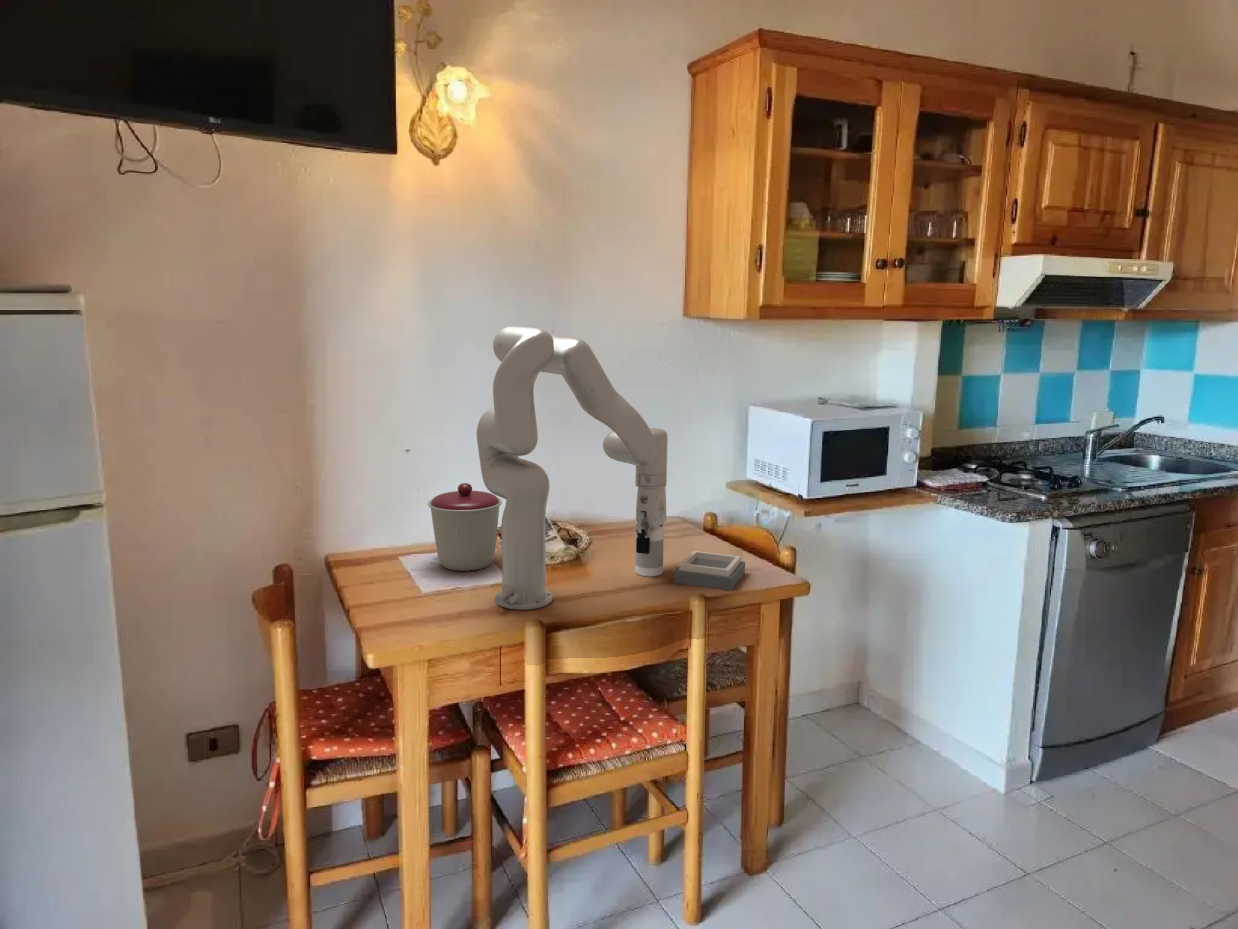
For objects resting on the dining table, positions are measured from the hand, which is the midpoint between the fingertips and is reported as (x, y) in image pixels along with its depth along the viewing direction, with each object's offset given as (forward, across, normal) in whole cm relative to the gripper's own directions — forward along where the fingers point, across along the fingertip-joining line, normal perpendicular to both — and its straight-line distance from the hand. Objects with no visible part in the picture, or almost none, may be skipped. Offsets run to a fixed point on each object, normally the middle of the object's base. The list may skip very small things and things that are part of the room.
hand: (649, 547), depth 209 cm
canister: (+6, -13, +44) cm, 46 cm away
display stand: (+6, +2, -15) cm, 16 cm away
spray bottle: (+7, 0, 0) cm, 7 cm away
